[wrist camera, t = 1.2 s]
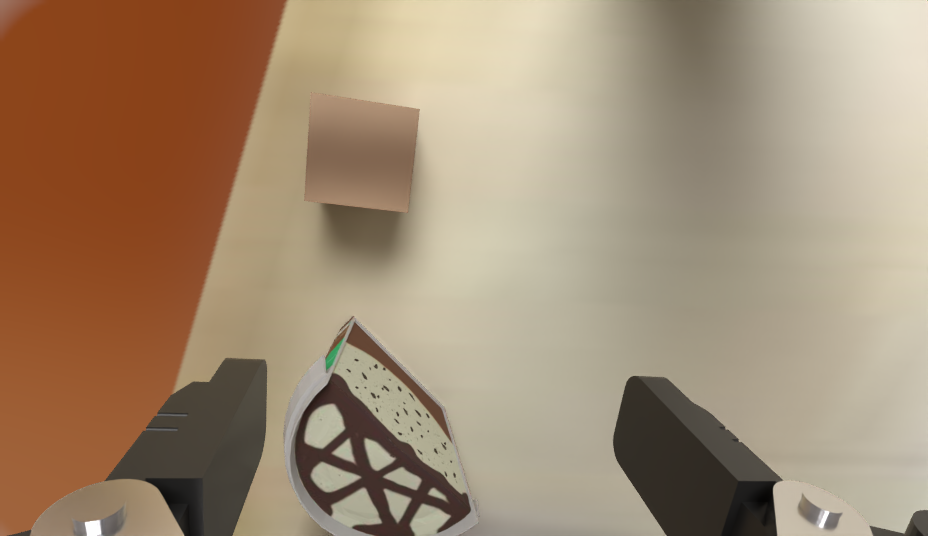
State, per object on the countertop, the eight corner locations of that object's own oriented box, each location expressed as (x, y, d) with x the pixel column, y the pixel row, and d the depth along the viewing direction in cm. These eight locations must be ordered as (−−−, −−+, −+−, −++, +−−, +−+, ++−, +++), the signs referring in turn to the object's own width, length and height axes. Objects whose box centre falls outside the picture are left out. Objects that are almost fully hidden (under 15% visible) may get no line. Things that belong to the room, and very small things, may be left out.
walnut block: (325, 98, 28) (310, 92, 23) (412, 112, 29) (419, 109, 24) (319, 186, 30) (304, 200, 24) (403, 196, 31) (407, 212, 25)
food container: (265, 360, 32) (215, 459, 23) (337, 299, 32) (317, 374, 22) (392, 473, 36) (395, 598, 26) (457, 420, 36) (485, 528, 26)
